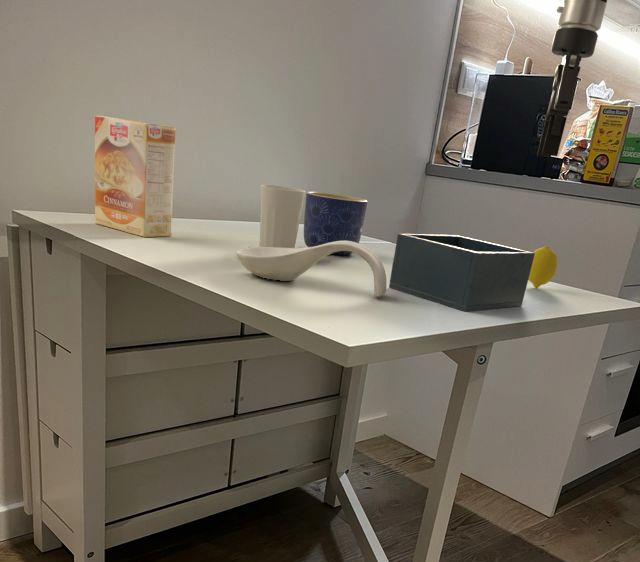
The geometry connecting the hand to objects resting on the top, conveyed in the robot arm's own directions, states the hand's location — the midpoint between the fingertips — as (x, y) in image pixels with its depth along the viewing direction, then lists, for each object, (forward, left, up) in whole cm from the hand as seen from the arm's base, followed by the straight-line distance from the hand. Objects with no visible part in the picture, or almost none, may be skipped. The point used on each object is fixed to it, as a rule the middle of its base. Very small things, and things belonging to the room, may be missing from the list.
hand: (546, 156), depth 128 cm
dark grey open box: (-14, +32, -24) cm, 42 cm away
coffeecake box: (+40, +67, -24) cm, 82 cm away
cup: (+17, +48, -24) cm, 56 cm away
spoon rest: (-5, +55, -24) cm, 60 cm away
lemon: (-8, +4, -24) cm, 26 cm away
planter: (+24, +31, -24) cm, 46 cm away
